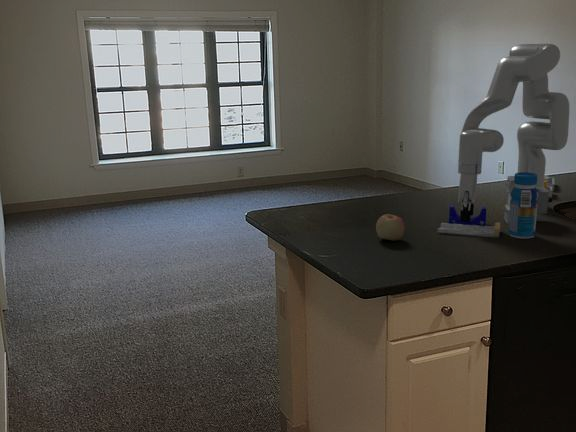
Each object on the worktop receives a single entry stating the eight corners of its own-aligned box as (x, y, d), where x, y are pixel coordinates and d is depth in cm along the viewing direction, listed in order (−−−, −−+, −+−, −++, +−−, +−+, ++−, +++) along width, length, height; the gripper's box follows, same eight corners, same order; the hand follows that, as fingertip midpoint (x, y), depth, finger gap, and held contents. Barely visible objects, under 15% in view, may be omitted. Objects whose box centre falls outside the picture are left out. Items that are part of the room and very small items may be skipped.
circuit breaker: (551, 224, 215) (554, 180, 211) (506, 223, 217) (509, 180, 214) (547, 218, 222) (550, 176, 218) (504, 217, 224) (507, 175, 221)
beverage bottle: (502, 235, 204) (506, 174, 198) (517, 230, 208) (521, 170, 203) (525, 241, 197) (530, 177, 192) (541, 235, 202) (546, 174, 197)
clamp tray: (508, 191, 264) (508, 184, 263) (551, 193, 258) (552, 186, 257) (507, 195, 256) (507, 188, 256) (551, 198, 250) (552, 190, 250)
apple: (382, 235, 207) (382, 211, 205) (408, 238, 203) (408, 214, 201) (371, 242, 200) (371, 217, 198) (398, 245, 195) (399, 220, 193)
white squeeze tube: (440, 227, 214) (441, 218, 214) (500, 231, 208) (500, 222, 207) (437, 233, 208) (437, 224, 207) (498, 237, 201) (499, 228, 200)
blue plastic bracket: (448, 225, 217) (449, 208, 216) (449, 221, 221) (450, 205, 220) (485, 227, 214) (486, 210, 212) (485, 223, 218) (486, 206, 216)
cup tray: (517, 182, 280) (518, 175, 279) (553, 184, 275) (554, 177, 274) (516, 189, 267) (516, 182, 266) (554, 191, 262) (554, 184, 261)
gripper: (461, 163, 220) (458, 211, 225) (454, 172, 205) (452, 223, 209) (483, 165, 218) (480, 213, 222) (479, 173, 202) (475, 225, 206)
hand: (466, 218), depth 216 cm, fingers open, 9 cm apart
